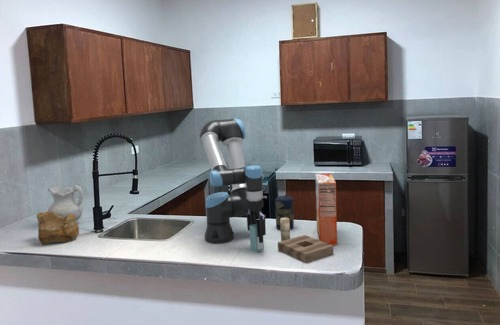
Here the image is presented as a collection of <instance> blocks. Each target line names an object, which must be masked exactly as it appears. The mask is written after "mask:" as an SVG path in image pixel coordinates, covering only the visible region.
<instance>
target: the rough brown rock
mask: <svg viewBox="0 0 500 325" xmlns="http://www.w3.org/2000/svg"><path fill="white" fill-rule="evenodd" d="M36 219H37V222H38V225H37V226H38V232H37V233H38V235H37V236H38V239H39V241H40V244H41V245H47V244H49V243H54V242H56V243H58V242H59V243H69V242H70V241H73V240H75V239H76V238H77V237H78V236H79V234H80V229H79V223H78V222H77V221H76V219H75V215H73V214H68V215H67V216H65V217H61V216H58V215H56V214H55V213H54V212H53V211H48V210H47V211H45V212H39V213H37V214H36ZM76 222H77V223H78V224H77V223H76Z"/></svg>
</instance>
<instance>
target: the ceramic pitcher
mask: <svg viewBox="0 0 500 325" xmlns="http://www.w3.org/2000/svg"><path fill="white" fill-rule="evenodd" d="M47 191H48V192H49V193H50V194H51V196H52V199H53V203H52V204H51V205H50V206H49V207H48V209H47V211H53V212H54V213H55V214H56V215H58V216H61V217H65V216H67V215H68V214H73V215H75V219H76V223H77V224H78V225H79V222H78V220H79V219H80V218H81V217H82V216H83V208H84V207H83V205H82V203H83V199H84V191H83V189H82V187H81V185H80V184H73V188H72V187H69V186H67V187H63V185H61V184H59V185H58V184H53V185H52V186H51V187H49V188H48V189H47ZM76 191H77V192H78V193H79V196H78V200H76V199H75V193H76Z"/></svg>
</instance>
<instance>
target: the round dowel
mask: <svg viewBox="0 0 500 325" xmlns="http://www.w3.org/2000/svg"><path fill="white" fill-rule="evenodd" d="M280 224H281V229H280V241H284V240H288V239H291V229H290V221H289V218H281V219H280Z"/></svg>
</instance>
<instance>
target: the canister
mask: <svg viewBox="0 0 500 325" xmlns="http://www.w3.org/2000/svg"><path fill="white" fill-rule="evenodd" d="M274 203H275V204H274V205H275V226H276V228H277V229H279V230H281V224H280V219H281V218H289V221H290V230H291V229H292V228H294V226H295V225H294V224H295V221H294V220H295V219H294V218H295V217H294V198H293V197H292V196H290V195H287V194H286V195H279V196H277V197H275V201H274Z"/></svg>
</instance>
